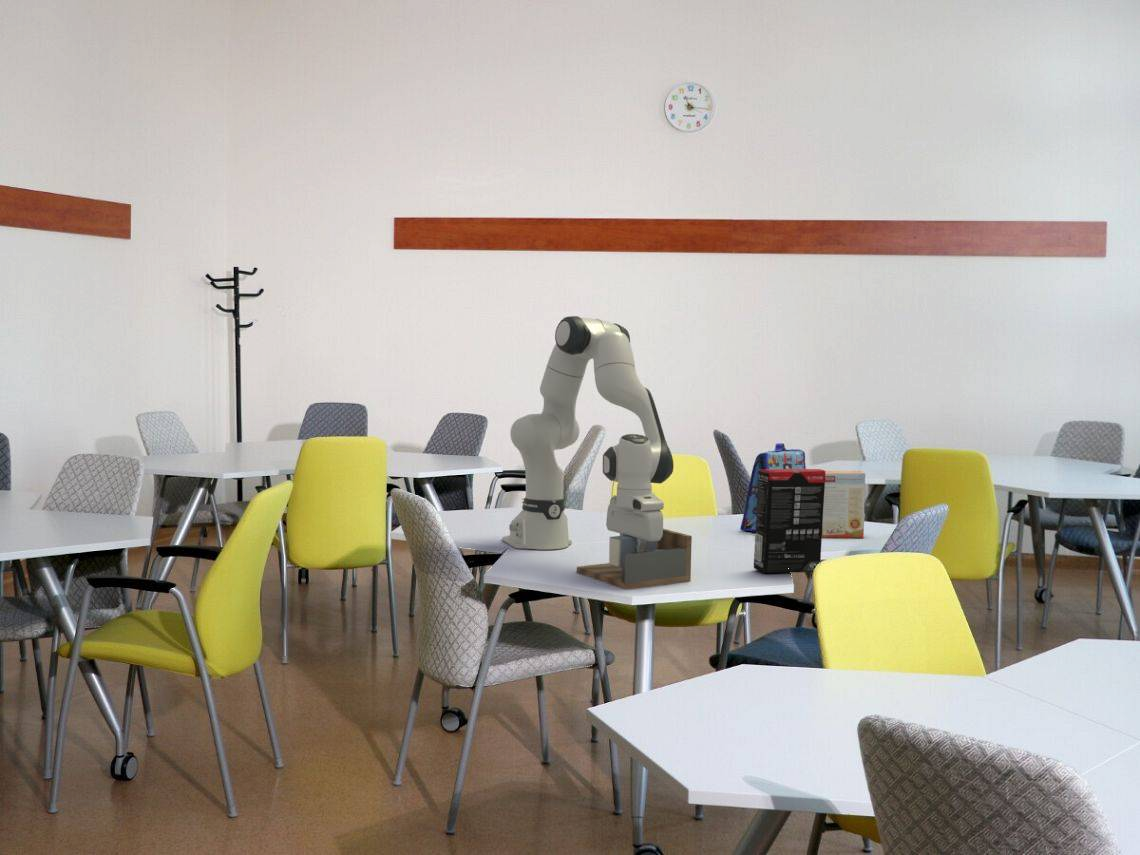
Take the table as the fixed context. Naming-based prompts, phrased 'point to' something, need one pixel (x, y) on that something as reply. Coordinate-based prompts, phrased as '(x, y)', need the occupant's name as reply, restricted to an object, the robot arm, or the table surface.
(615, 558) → the grey rectangular box
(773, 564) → the graphics card box
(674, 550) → the grey thin upright panel
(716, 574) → the table surface
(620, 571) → the shelf
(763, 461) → the lunch bag
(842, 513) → the cracker box
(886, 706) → the table surface
